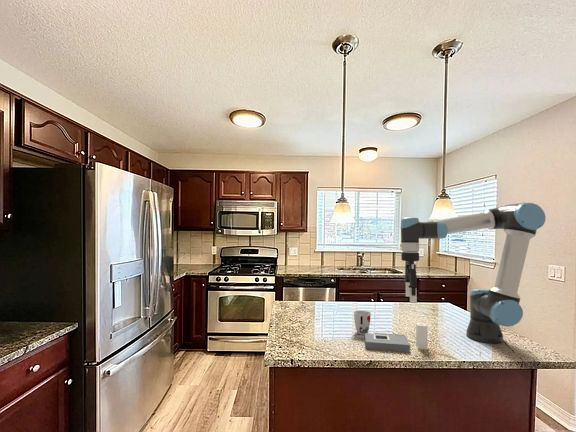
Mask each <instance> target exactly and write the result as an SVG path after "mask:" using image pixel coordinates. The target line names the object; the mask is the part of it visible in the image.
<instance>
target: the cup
mask: <svg viewBox="0 0 576 432" xmlns="http://www.w3.org/2000/svg"><path fill="white" fill-rule="evenodd" d="M353 317H354V325H355V330H356V333H357V334H358V335H362V336H363V335H364V336H365V333H369V330H370V325H371V317H372V316H371V312H370V311H367V310H355V311H354V312H353Z"/></svg>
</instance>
